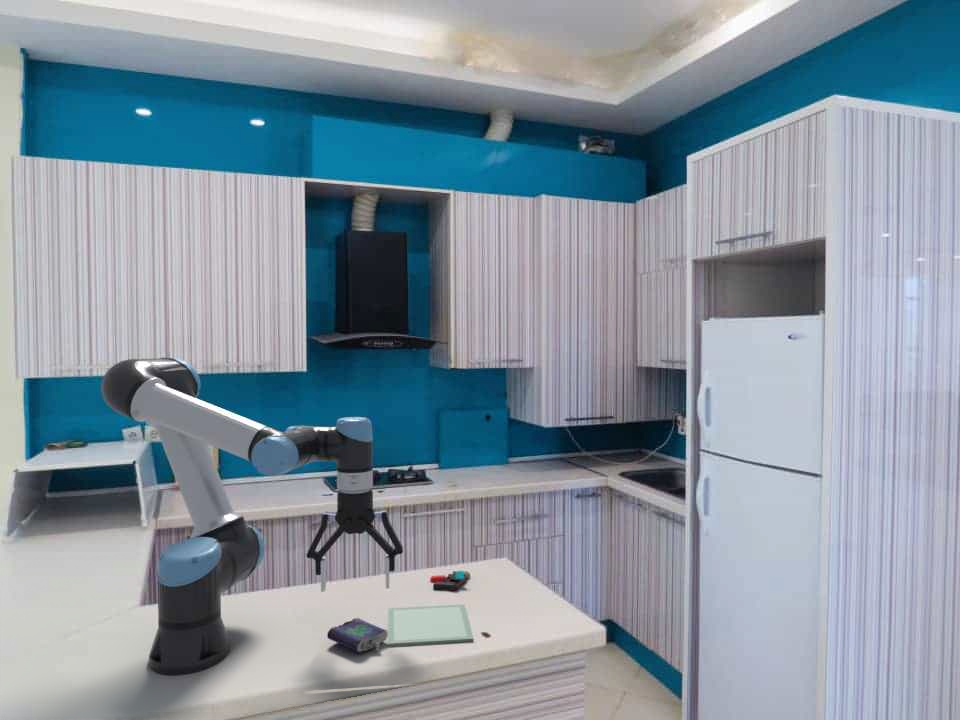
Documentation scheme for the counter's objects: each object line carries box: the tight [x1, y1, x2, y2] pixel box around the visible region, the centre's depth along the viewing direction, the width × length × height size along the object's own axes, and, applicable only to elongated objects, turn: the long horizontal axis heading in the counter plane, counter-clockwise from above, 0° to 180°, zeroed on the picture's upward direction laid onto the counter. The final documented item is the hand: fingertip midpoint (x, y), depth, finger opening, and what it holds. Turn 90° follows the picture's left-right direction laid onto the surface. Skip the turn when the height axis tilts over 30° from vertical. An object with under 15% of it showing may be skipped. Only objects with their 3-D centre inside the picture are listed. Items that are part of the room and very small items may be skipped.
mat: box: [387, 603, 474, 648], centre depth 142 cm, size 18×18×1 cm
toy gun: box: [429, 570, 471, 592], centre depth 167 cm, size 10×12×5 cm
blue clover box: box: [326, 617, 388, 653], centre depth 133 cm, size 9×3×11 cm
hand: (355, 587), depth 136 cm, fingers open, 13 cm apart
